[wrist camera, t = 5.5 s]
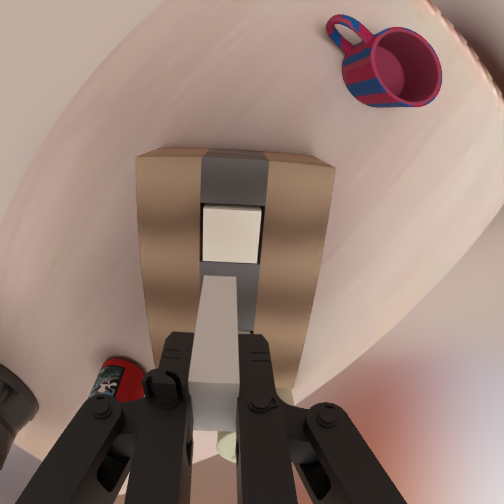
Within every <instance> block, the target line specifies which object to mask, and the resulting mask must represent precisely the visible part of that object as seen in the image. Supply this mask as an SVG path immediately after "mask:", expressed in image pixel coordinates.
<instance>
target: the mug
mask: <svg viewBox="0 0 504 504" xmlns="http://www.w3.org/2000/svg"><path fill="white" fill-rule="evenodd" d="M334 24H342V25H344V26H346V27H348V28H350V29H351V30H353V31H354V32H355V33H356V34H358V36H359V37H360V38H361V39H362V42H361V43H359V44H357V45H352V44H351V43H350V42H348V41H347V40H346V39H345V38H344V37H343V36H342V35H341V34H340V33H339V32H338V31H337V30H336V28H335V26H334ZM326 31H327V33H328V35H329V36H330V37H331V39H332V40H333V41H334V42H335V43H336V44H337V45H338V46H339V47H340V48H341V49H342V50H343V51H344V52H345V53H347V54H346V55H345V57H344V60H343V64H342V74H343V79H344V82H345V84H346V86H347V88H348V90H349V91H350V92H351V94H352V95H353V96H354V97H355V98H356V99H357V100H359V101H360V102H362V103H364V104H366V105H368V106H372V107H421V106H425V105H427V104H429V103H430V102H431V101H433V100H434V99H435V97H436V96H437V95H438V93H439V91H440V88H441V84H442V70H441V65H440V62H439V59H438V57H437V55H436V53H435V51H434V49H433V48H432V46H431V45H430V44H429V43H428V42H427V41H426V40H425V39H424V38H423V37H422V36H421V35H419V34H418V33H416V32H414V31H412V30H410V29H407V28H403V27H392V28H388V29H385V30H383V31H381V32H379V33H377V34H375V35H373V34H372V33H371V32H370V31H369V30H368V29H367V28H366V27H365V26H364V25H362V24H361V23H360V22H359V21H357V20H355V19H354V18H352V17H350V16H346V15H341V14H339V15H335V16H333V17H332V18H331V19H330V20H329V21H328V22H327V25H326Z"/></svg>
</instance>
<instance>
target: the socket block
mask: <svg viewBox="0 0 504 504" xmlns="http://www.w3.org/2000/svg"><path fill="white" fill-rule="evenodd" d="M334 175H335V167H333V166H331V165H329V164H327V163H325V162H323V161H321V160H319V159H317V158H315V157H313V156H306V155H297V154H287V153H276V152H263V151H249V150H231V149H206V148H159V149H156V150H153V151H151V152H148V153H145V154H143V155H140V156H138V157H136V194H137V217H138V234H139V247H140V259H141V270H142V280H143V289H144V297H145V305H146V312H147V320H148V326H149V333H150V339H151V345H152V351H153V357H154V362H155V368H156V369H157V368H158V367H159V363H160V359H161V355H162V351H163V347H164V343H165V339H166V338H167V337H168V336H169V335H170V334H171V333H172V332H173V331H177V332H193V333H195V329H196V322H197V316H198V309H199V303H200V297H201V291H202V285H203V279H204V275H206V276H230V277H236V287H237V322H238V330H249V331H250V334H262V335H263V336H264V337H265V339H266V340H267V341H268V343H269V349H270V356H271V362H272V369H273V375H274V381H275V388H293V387H294V383H295V379H296V375H297V371H298V367H299V363H300V359H301V355H302V350H303V346H304V342H305V337H306V333H307V328H308V324H309V319H310V314H311V310H312V305H313V300H314V295H315V290H316V285H317V280H318V275H319V269H320V264H321V258H322V253H323V247H324V241H325V235H326V229H327V223H328V217H329V210H330V203H331V197H332V190H333V182H334ZM205 203H223V204H242V205H259V206H260V208H261V222H260V233H259V245H258V256H257V263H237V262H217V261H203V209H204V206H205Z"/></svg>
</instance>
